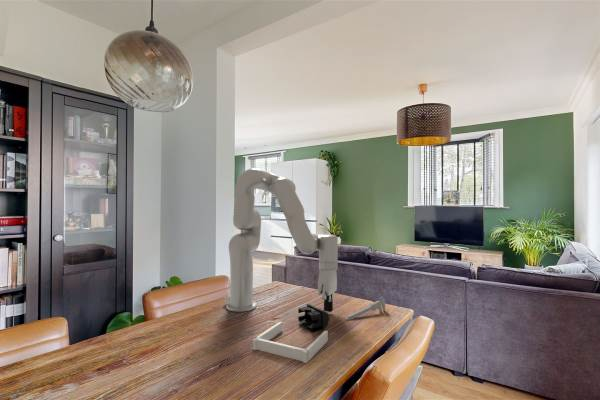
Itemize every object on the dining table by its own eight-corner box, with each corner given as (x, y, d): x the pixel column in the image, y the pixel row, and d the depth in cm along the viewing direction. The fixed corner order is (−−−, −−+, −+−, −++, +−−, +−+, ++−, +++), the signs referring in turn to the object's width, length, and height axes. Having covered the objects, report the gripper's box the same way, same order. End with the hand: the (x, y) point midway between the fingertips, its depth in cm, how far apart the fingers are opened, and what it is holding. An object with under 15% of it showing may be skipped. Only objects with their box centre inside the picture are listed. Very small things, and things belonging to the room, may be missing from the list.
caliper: (383, 311, 127) (383, 296, 128) (385, 312, 127) (385, 296, 127) (344, 320, 117) (344, 303, 117) (346, 321, 116) (346, 304, 116)
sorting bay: (252, 349, 93) (252, 339, 93) (279, 330, 107) (279, 321, 107) (306, 363, 85) (306, 352, 85) (327, 340, 99) (327, 331, 99)
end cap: (329, 329, 108) (329, 310, 108) (313, 333, 104) (313, 313, 104) (313, 320, 117) (313, 302, 117) (297, 324, 113) (297, 305, 113)
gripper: (326, 261, 132) (326, 304, 132) (312, 267, 119) (312, 315, 119) (343, 263, 129) (343, 306, 129) (330, 269, 116) (330, 318, 115)
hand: (328, 310), depth 124 cm, fingers closed
